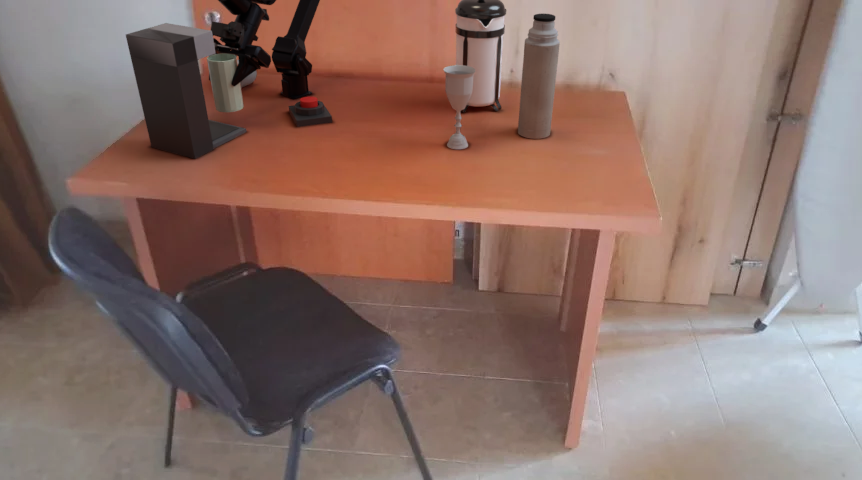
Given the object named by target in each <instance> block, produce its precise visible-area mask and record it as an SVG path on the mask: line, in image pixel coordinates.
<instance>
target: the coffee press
mask: <svg viewBox="0 0 862 480" xmlns="http://www.w3.org/2000/svg"><path fill="white" fill-rule="evenodd" d="M505 7H506V6H505V5H504V3H503V1H501V0H460V1H459V2H458V4H457V6H456V7H455V10H454V13H455V15H456V23H455V35H456V36H455V65H464V66H470V67H473V68H475V69H476V71H475V73H474V75H473V92H472V94H471V97H470V100H469V101H468V103H467V105H466V107H465V109H463V110H461V113H463V114H464V113H466V112H467V109H468V108H469V107H486V106H487V107H488V106H489V107H492V109H493V110H494V111H495V112H499V111H501V110H502V107H503V106H502V104H501V103H500V101H499V100H500V96H501V86H502V85H501V82H502V81H501V80H502V67H503V66H502V65H503V51H504V35H505V31H506V25H505V19H506V18H505V17H506V15H507V9H506V8H505Z"/></svg>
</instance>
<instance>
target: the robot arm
mask: <svg viewBox="0 0 862 480" xmlns="http://www.w3.org/2000/svg"><path fill="white" fill-rule="evenodd" d="M217 1H218V2H219V3H220V4H221V5H222V6H223V7H224V8H225V9H226V10H227V11H228V12H229V13H230V14H231V15H233V16H236V17H235V19H234V21H230V22H228V23H224V22H218V21H211V24H210V31H212V34H213V41H214V47H215V53H216V54H221V53H229V54H234V55H236V56H237V59H238V60H239V64H238V66H237V69H236V71H235V74H234V77H233V80H232V83H231V84H232V85H233V86H236V85H237V84H239V83H240V82H241V81H242V80H244V79H245V78H246V77H247V76H249V75H250V74H251V73H253V72H254V71H258V70H261V68H266V69H269V67H270V65H271V64H272V63H273V65H274V68H275V70H276V73H280V74H281V78H282V79H281V81H280V82H281V90H282V91H280V95H282V96H284V97H287V98H289V99H290V100H291V99H292V100H297V99H301V98H303V97H308V96H310V95H311V96H312V95H313V92H312V91H310V89H309V79H308V77H309V75H310V74H311V73H312V71H313V64H312V63H311V62H310V61H309V59H308V58H306V57H307V48H306V43H305V42H306V39H307V37H308V34H309V31H310V28H311V25H312V23H313V21H314V18H315V15H316V12H317V9H318V7H319V4H320V2H321V0H299V1H298V4H297V6H296V9H295V11H294V15H293V17H292V19H291V22H290V24H289V27H288V30H287V33H286V35H284V36H277V37H276V38H275V42H274V45H273V47H272V48H271V51H272V52H271V55H270V54H269V53H268V52H267V51H266V50H265V49H264V48H263V47H262V46H260V45H255V44H253V42H258V40H259V36H257V34H258V31H259V28H260V26H261V23H262V21H267V22H268V21H270V15H269V14H268V9H267V8H262V7H261V6H260V5H265V6H272V5H274V4H275V3H276V2H277V0H217ZM214 36H215V37H218V38H219V40H218V39H216V38H215V37H214ZM222 43H224V44H222ZM213 55H214V54H213ZM210 56H211V55H210ZM208 81H210V82H211V80H210V74H209V73H208Z"/></svg>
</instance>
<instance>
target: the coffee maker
mask: <svg viewBox="0 0 862 480" xmlns="http://www.w3.org/2000/svg"><path fill="white" fill-rule="evenodd" d="M210 30H211V29H210ZM210 30H209V29H203V28H198V27H193V26H192V27H191V26H186V25H180V24H174V23H169V22H165V23H160V24H157V25H153V26H150V27H148V28H143V29H140V30H136V31H133V32H130V33H126V34H125V39H126V42H127V47H128V51H129V56H130V60H131V65H132V67H133V68H132V69H133V73H134V77H135V82H136V86H137V91H138V95H139V100H140V104H141V108H142V112H143V117H144V120H145V121H144V122H145V127H146V129H147V134H148V138H149V143H150V147H151V148H154V149H158V150H161V151H165V152H168V153H172V154H174V155H179V156H183V157H187V158H190V159H194V160H196V159H198V158H200V157H202V156H205V155H206V154H208V153H210V152H212V151H214V150H215V149H216V148H218V147H220V146H221V145H224V144H226V143H228V142H230V141H232V140H234V139H235V138H237V137H239V136H241V135H244V134H245V133H247V132H248V131H247V127H241V126H237V125H233V124H230V123H226V122H221V121H217V120H212V119H209V116H208V115H209V114H208V110H207V105H206V104H207V103H206V99H205V93H204V88H203V82H202V76H201V71H200V65H199V60H201V59H204V58H207V57H209V56H210V55H213V54H216V53H215V47H214V41H213V38H214V35H213V34H212V31H210Z"/></svg>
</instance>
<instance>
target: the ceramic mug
mask: <svg viewBox="0 0 862 480" xmlns="http://www.w3.org/2000/svg"><path fill="white" fill-rule="evenodd" d="M237 63H238V64H239V59H237ZM257 71H258V70H256V71H254V72H253V73H251V74H250V75H249V76H247V77H246V78H245V79H244V80H242V81H241V82H240V83H241V89H242V88H244V87H246V86H249V85H251V84H252V83H254V82H255V81H256V79H257V75H258V73H257Z"/></svg>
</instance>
